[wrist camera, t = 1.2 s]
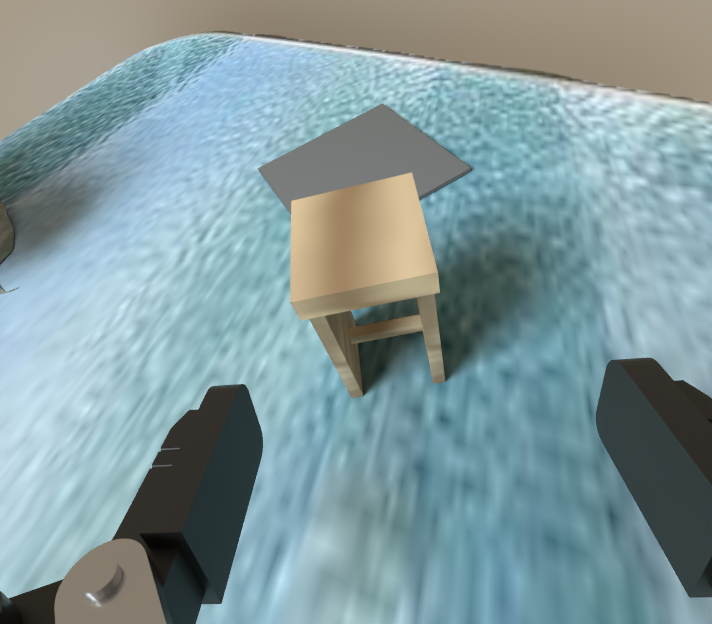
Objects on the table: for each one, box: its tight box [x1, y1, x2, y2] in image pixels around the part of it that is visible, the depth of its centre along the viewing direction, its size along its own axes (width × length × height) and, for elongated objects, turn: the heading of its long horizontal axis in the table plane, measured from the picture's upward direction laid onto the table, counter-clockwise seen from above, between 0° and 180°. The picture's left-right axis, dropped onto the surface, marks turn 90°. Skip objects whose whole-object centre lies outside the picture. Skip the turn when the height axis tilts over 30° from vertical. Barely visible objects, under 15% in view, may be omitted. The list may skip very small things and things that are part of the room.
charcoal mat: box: [258, 104, 471, 214], centre depth 44 cm, size 16×16×1 cm
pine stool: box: [290, 173, 445, 398], centre depth 27 cm, size 7×7×12 cm
